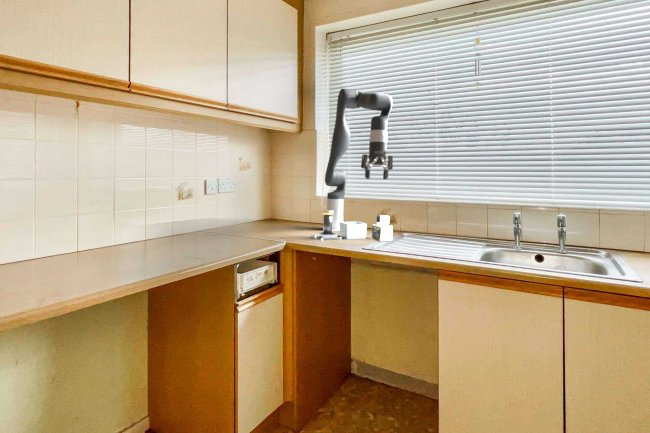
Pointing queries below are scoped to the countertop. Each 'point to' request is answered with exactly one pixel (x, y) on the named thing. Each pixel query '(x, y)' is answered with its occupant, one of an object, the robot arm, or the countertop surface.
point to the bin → (353, 230)
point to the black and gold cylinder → (327, 222)
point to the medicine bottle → (382, 229)
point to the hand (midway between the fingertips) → (376, 179)
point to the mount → (326, 236)
